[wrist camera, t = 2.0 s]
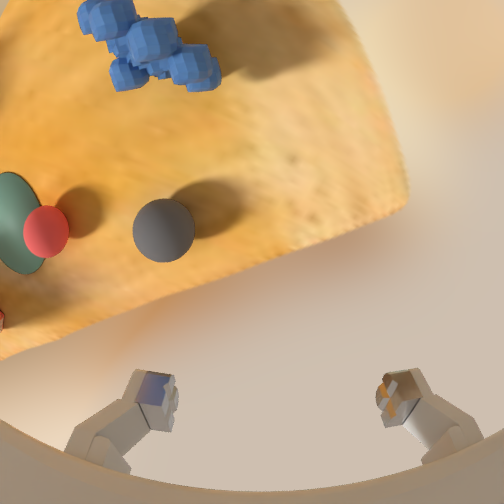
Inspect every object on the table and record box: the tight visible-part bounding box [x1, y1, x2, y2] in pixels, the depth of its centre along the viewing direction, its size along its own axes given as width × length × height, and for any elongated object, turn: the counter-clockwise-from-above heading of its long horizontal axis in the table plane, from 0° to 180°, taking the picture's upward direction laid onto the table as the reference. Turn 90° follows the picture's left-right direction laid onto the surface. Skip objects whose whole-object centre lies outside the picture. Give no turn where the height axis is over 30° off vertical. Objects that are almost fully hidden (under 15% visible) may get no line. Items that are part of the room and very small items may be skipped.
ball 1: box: [23, 206, 69, 258], centre depth 24 cm, size 6×6×6 cm
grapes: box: [77, 0, 221, 92], centre depth 15 cm, size 12×7×12 cm, turn 52°
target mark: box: [0, 173, 44, 274], centre depth 26 cm, size 14×14×1 cm
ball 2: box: [133, 199, 195, 262], centre depth 24 cm, size 6×6×6 cm
